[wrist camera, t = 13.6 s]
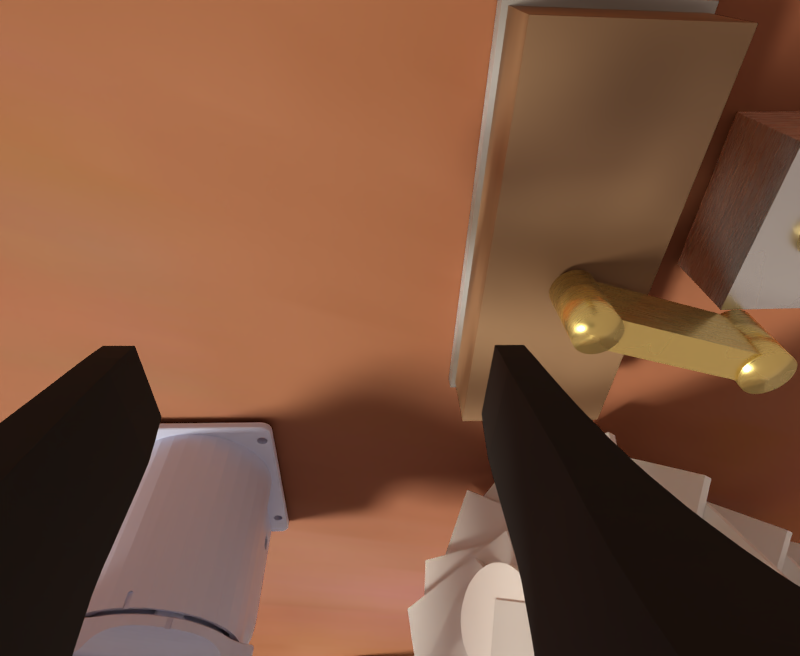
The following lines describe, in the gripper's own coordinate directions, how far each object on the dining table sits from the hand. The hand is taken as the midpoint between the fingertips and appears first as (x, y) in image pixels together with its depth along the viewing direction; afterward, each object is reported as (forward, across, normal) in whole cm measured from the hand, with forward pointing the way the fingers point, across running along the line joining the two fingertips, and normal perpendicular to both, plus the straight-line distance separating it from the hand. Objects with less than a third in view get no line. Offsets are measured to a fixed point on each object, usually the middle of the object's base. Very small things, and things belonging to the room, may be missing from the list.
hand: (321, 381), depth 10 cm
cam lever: (+7, -11, +3) cm, 13 cm away
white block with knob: (+10, -16, 0) cm, 19 cm away
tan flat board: (+10, -8, +2) cm, 13 cm away
